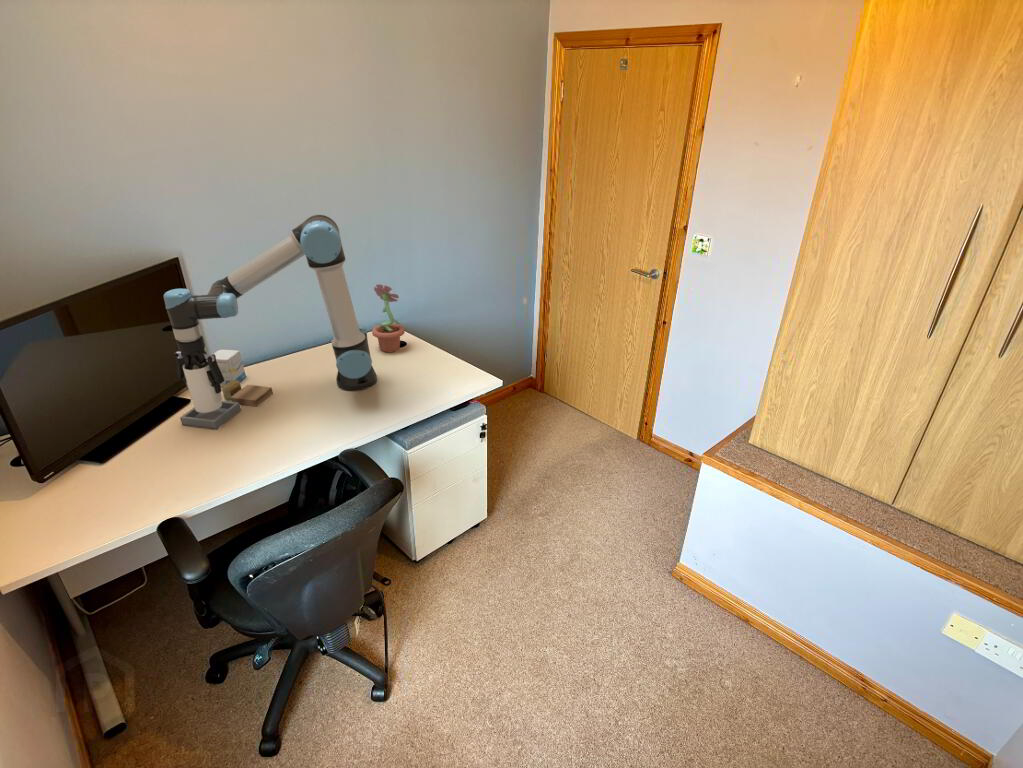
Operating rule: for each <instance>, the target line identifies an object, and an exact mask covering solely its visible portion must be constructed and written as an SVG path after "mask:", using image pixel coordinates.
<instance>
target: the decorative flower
mask: <svg viewBox="0 0 1023 768" xmlns="http://www.w3.org/2000/svg"><path fill="white" fill-rule="evenodd" d="M392 289H393V288H392V287H391V286H388V285H383V284H382V283H379V284H376V285H375V286H374V288H373V290H374V292H375V294H376V296H378V297H379V299H381V300H382V301H384V307H383V308H382V313H385V312H386V314H387V316H388V318H389V320H388V321H385V322H381V323H377V322H376V324H378V325H376V326H374V327H373V328H372V331H371V334H372V336H373V337H375V338H376V339H377V340H378V342H377V343H378V347H379V349H380V351H382V352H385V353H393V352H396V351H398V350H399V349H400V346H401V337H403V336H404V334H405V328H404V326H402V325H401V323H400V322H399V321H398V320H397V319H395V318H394V316H393V313H392V311H391V308H390V303H393V302H395V303H396V302H398V299H399V298H400V297H399V295H398V294H397V293H391V291H392Z"/></svg>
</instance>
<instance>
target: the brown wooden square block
mask: <svg viewBox="0 0 1023 768" xmlns="http://www.w3.org/2000/svg"><path fill="white" fill-rule="evenodd" d="M272 395H274V392H273V388H272V387H271V386H262V385H255V384H254V385H253V384H246V385H245V386H243V387H241V390H240V391H238V392H237V393H236V394H234V395H233V396H231V397H230V399H231V400H230V402H238V403H240V406H247V407H248V406H249V407H258V406H260V405H261V404H262V403H263V402H265V401H266V400H268V398H270V396H272Z"/></svg>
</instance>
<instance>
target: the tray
mask: <svg viewBox="0 0 1023 768" xmlns="http://www.w3.org/2000/svg"><path fill="white" fill-rule="evenodd" d="M221 401H222V406H221V407H220V408H219V409H217V410H215V411H212V412H207V413H200V412H197V411H196V410H195V407H193V408H192V409H190V410H189V411H187V412H186V413H183V415H181V416H180V417H179V420H180V422H181V426H185V427H193V428H194V427H195V428H201V429H202V428H203V429H208V430H209V429H210V430H214V431H215V430H218V429H219V428H221V427H222V426H224V425H225V424H226V423H227V422H229V420H231V419H232V418H233V417H234V416H236V415H237V414H239V413H240V411H242V408H241V405H240V403H238V402H231V401H230V400H221Z"/></svg>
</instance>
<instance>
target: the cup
mask: <svg viewBox="0 0 1023 768" xmlns="http://www.w3.org/2000/svg"><path fill="white" fill-rule="evenodd" d="M203 364H204V363H203ZM203 364H202V365H203ZM183 370H184V374H185V377H186V380H187V384H188V387H189V390H190V393H189V395H190V394H191V396H190V398H191V397H192V400H191V401H192V403H193V406H194V407H195V410H196V411H197V412H200V413H207V412H212V411H215V410H217V409H219V408H220V407H221V406H222V401H223V400H221V401H219V402H218V403H215V401H214V397H213V394H212V390H211V385H212V383H211V382H210V381H209V379H208V376H207V372H206V371H209V370H210V367H209V365H208V366H206V367H204V368H201V369H200V368H199V367H198V365H194V366H193V370H187V369H186V368H185V365H183ZM189 390H188V391H189ZM194 407H193V408H194Z"/></svg>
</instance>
